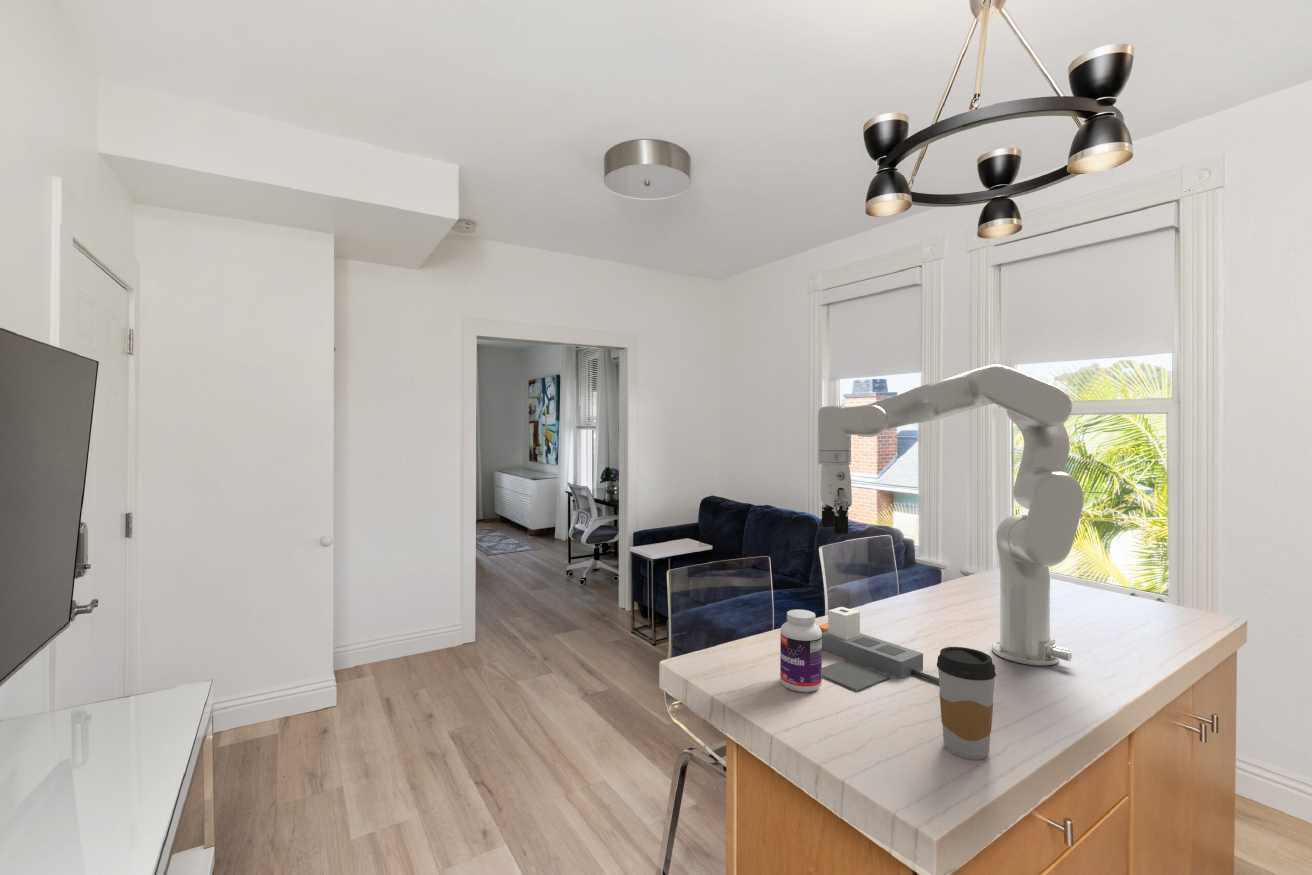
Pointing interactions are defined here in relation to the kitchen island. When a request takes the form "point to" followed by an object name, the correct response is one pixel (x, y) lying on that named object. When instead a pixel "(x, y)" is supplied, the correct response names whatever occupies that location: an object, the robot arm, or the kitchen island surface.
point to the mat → (853, 675)
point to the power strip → (876, 654)
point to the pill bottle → (801, 652)
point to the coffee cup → (966, 700)
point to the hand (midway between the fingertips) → (834, 530)
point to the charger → (844, 623)
